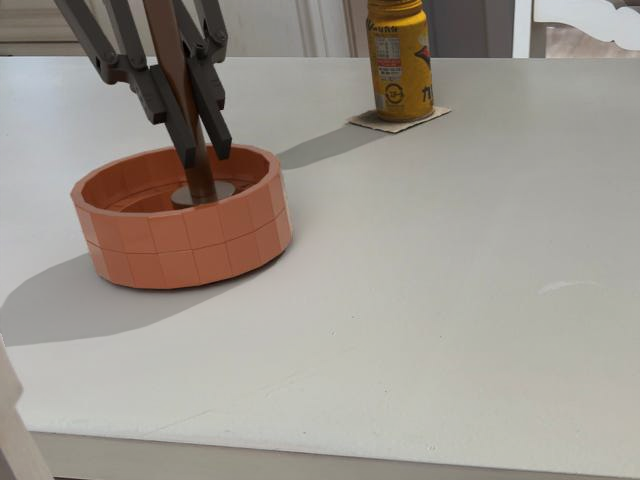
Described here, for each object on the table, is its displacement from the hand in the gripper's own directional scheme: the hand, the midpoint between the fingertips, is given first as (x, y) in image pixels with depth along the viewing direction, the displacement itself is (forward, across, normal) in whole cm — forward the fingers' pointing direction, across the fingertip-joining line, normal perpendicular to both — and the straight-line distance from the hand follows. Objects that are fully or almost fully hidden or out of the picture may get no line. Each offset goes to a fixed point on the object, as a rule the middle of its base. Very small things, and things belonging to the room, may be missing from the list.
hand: (207, 153), depth 73 cm
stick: (+1, 0, -7) cm, 7 cm away
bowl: (+3, +2, -9) cm, 10 cm away
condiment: (-11, -27, -23) cm, 37 cm away
